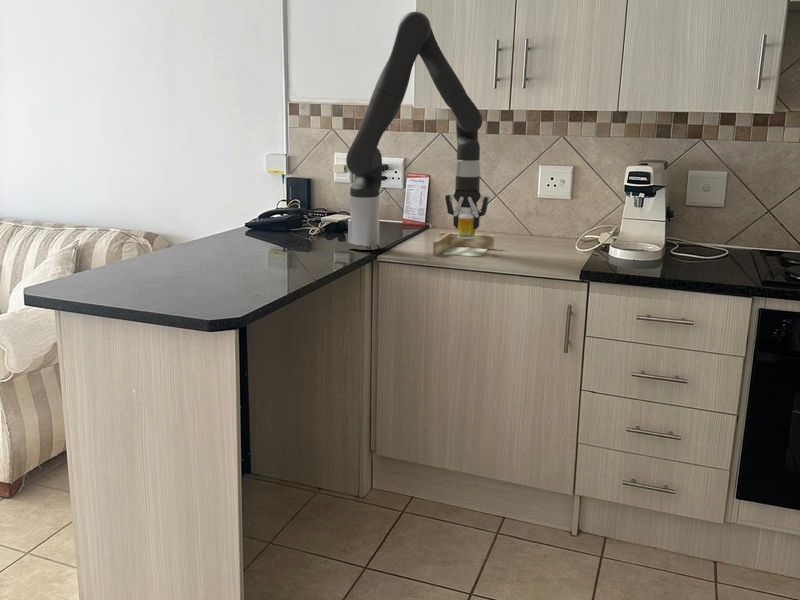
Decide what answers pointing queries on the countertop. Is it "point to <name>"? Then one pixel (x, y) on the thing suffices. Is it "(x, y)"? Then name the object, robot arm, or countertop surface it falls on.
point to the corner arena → (462, 245)
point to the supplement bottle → (466, 223)
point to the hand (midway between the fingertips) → (466, 228)
